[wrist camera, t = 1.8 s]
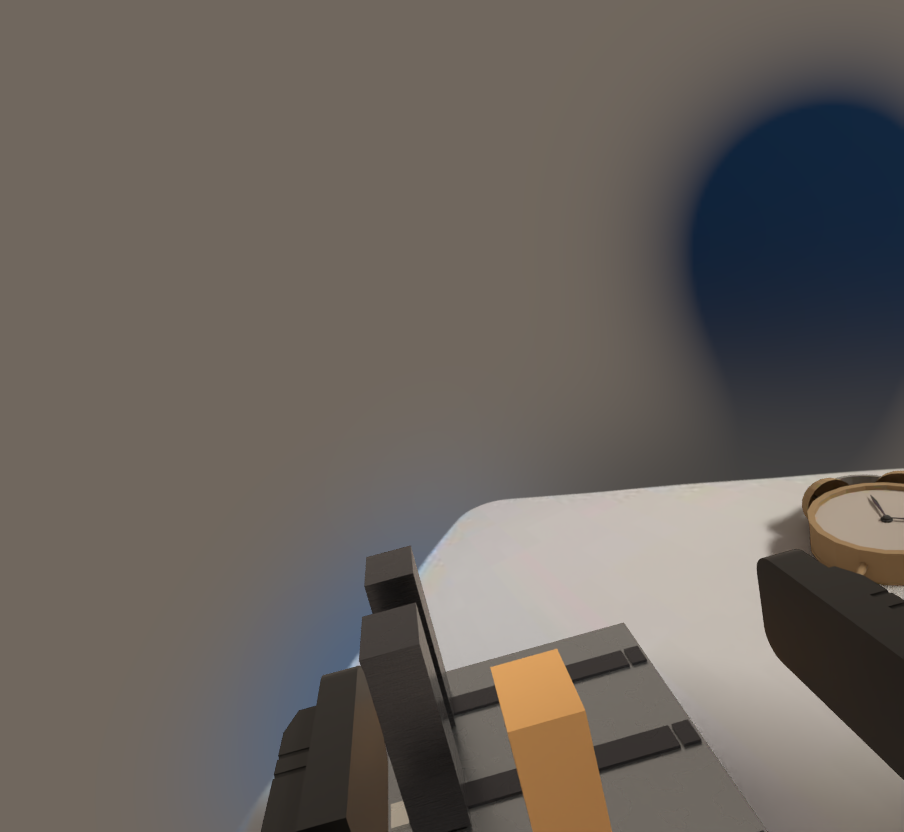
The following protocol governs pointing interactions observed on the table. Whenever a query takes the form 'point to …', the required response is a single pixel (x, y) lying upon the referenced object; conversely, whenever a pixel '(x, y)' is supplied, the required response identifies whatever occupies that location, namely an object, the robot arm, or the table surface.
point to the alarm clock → (859, 524)
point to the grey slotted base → (486, 740)
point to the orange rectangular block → (551, 745)
